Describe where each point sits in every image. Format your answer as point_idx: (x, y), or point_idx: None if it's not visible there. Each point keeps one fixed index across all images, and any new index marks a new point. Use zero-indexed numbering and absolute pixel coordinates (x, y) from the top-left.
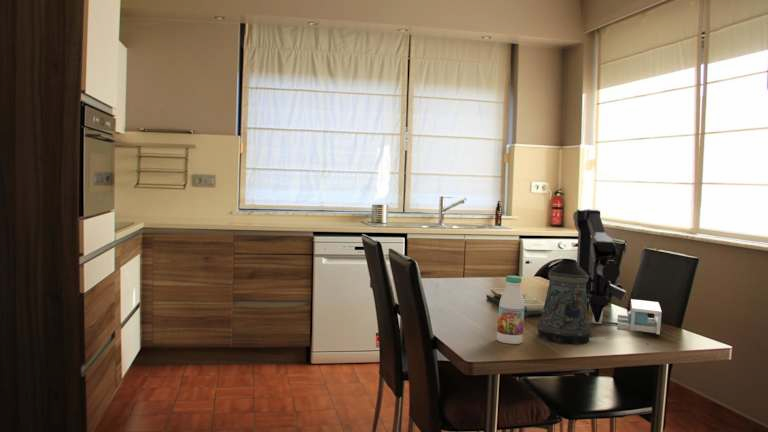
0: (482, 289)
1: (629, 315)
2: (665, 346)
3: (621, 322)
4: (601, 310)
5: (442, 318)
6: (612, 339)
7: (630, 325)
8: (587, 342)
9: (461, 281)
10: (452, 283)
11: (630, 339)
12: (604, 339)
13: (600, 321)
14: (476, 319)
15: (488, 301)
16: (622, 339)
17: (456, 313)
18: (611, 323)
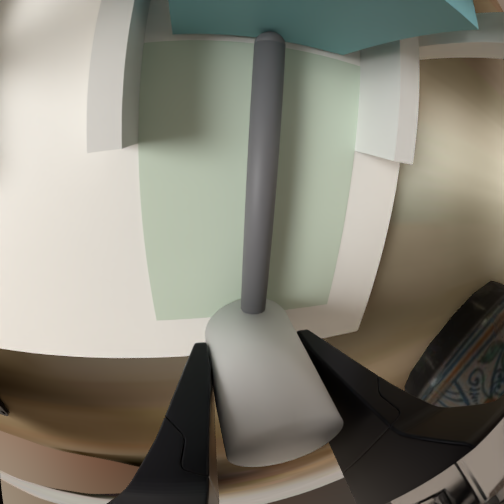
0: (16, 478)
1: (456, 19)
2: (482, 3)
3: (135, 97)
4: (406, 398)
5: (323, 484)
6: (482, 203)
7: (411, 43)
8: (496, 282)
9: (6, 479)
10: (30, 491)
11: (470, 108)
12: (482, 236)
13: (290, 321)
14: (310, 479)
15: (101, 497)
16: (479, 154)
17: (272, 497)
18: (272, 216)
